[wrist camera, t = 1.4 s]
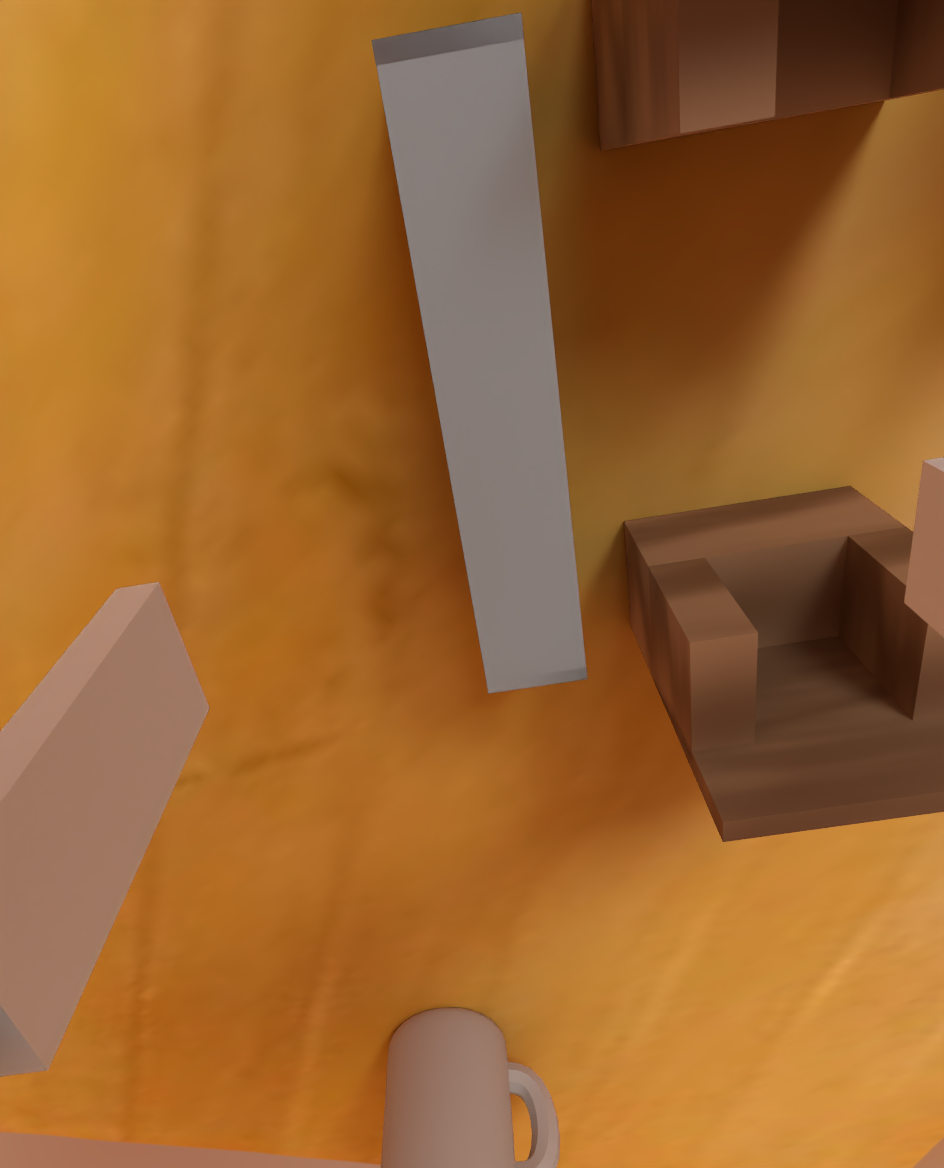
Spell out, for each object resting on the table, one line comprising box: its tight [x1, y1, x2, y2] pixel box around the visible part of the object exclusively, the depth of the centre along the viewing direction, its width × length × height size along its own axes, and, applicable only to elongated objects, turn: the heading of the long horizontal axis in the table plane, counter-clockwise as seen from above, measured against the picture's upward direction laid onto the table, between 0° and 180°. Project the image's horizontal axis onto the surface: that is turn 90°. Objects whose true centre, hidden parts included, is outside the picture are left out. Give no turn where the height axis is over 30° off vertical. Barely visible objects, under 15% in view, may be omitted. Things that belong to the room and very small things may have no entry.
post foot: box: [624, 486, 944, 842], centre depth 26 cm, size 5×9×12 cm, turn 99°
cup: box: [381, 1007, 560, 1168], centre depth 42 cm, size 7×10×9 cm
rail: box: [372, 13, 588, 694], centre depth 24 cm, size 19×4×6 cm, turn 9°
